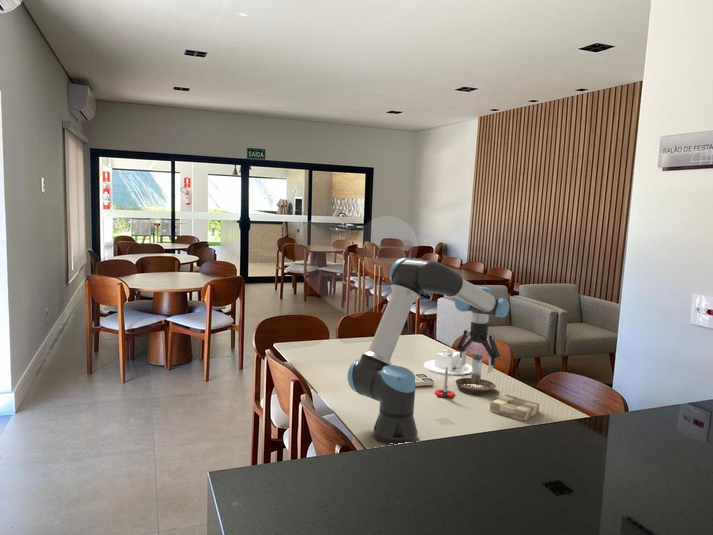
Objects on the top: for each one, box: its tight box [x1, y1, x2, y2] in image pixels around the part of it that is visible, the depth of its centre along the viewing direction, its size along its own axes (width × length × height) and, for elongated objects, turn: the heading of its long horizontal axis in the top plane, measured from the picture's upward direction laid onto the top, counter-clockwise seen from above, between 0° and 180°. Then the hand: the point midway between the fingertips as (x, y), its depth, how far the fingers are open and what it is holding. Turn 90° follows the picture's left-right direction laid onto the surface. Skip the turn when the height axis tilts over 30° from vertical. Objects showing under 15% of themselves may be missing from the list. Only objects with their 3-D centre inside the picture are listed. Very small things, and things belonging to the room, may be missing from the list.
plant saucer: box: [454, 377, 497, 395], centre depth 239 cm, size 18×18×3 cm
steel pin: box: [470, 352, 485, 385], centre depth 238 cm, size 5×5×13 cm
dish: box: [423, 345, 472, 376], centre depth 270 cm, size 25×25×11 cm
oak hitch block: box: [489, 394, 540, 421], centre depth 213 cm, size 14×14×4 cm
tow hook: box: [434, 367, 456, 399], centre depth 230 cm, size 8×13×9 cm
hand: (476, 368), depth 238 cm, fingers open, 13 cm apart
